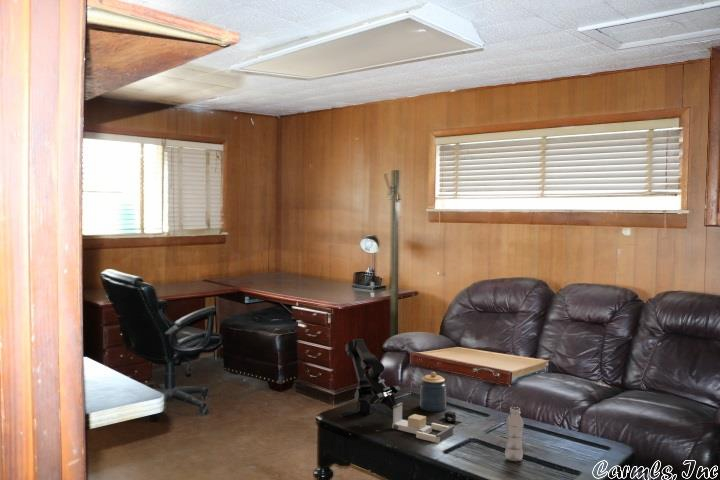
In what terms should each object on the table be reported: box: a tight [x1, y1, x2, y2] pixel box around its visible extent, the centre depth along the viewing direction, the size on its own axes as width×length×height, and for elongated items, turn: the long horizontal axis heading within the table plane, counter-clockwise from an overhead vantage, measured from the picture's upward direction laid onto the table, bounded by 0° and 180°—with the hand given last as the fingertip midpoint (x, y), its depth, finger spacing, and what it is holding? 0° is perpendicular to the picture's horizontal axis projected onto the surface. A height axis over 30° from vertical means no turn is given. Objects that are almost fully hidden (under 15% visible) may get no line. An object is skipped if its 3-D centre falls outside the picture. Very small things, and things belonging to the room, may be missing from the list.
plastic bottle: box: [504, 406, 525, 462], centre depth 229 cm, size 6×7×20 cm
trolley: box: [391, 402, 433, 435], centre depth 262 cm, size 16×9×10 cm, turn 55°
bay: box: [415, 422, 455, 444], centre depth 255 cm, size 10×14×3 cm
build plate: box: [438, 410, 463, 426], centre depth 273 cm, size 12×7×5 cm, turn 51°
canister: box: [419, 371, 448, 412], centre depth 293 cm, size 13×13×18 cm
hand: (395, 410), depth 266 cm, fingers closed
